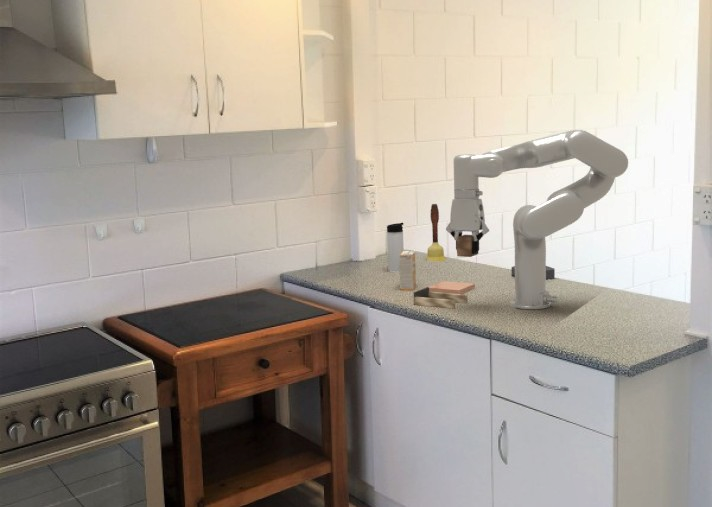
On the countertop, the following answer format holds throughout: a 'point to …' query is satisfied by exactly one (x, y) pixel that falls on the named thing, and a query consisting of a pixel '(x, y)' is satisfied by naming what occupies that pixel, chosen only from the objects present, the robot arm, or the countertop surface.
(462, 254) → the walnut block
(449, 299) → the birch chute
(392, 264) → the travel mug
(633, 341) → the countertop surface
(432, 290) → the terracotta tile
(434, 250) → the handbell
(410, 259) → the supplement box
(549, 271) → the streaming box
